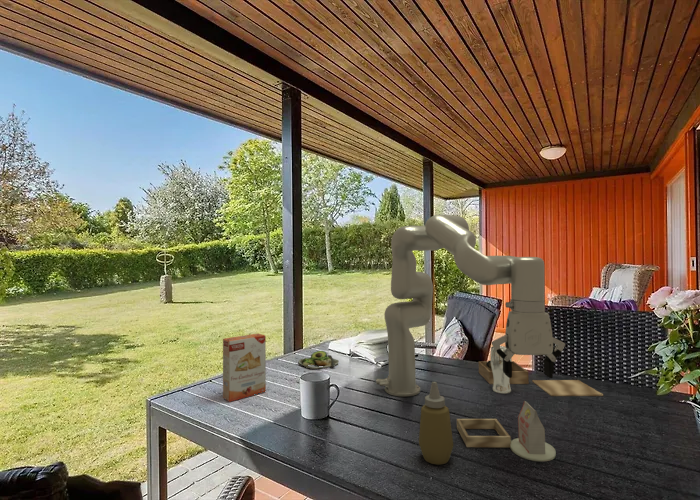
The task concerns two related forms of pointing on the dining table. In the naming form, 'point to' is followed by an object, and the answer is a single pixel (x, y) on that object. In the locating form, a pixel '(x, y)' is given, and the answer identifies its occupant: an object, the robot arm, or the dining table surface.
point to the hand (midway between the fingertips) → (528, 376)
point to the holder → (483, 441)
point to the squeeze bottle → (435, 428)
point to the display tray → (517, 378)
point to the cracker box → (244, 366)
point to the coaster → (523, 453)
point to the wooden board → (566, 388)
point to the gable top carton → (531, 430)
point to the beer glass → (499, 373)
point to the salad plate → (319, 360)
